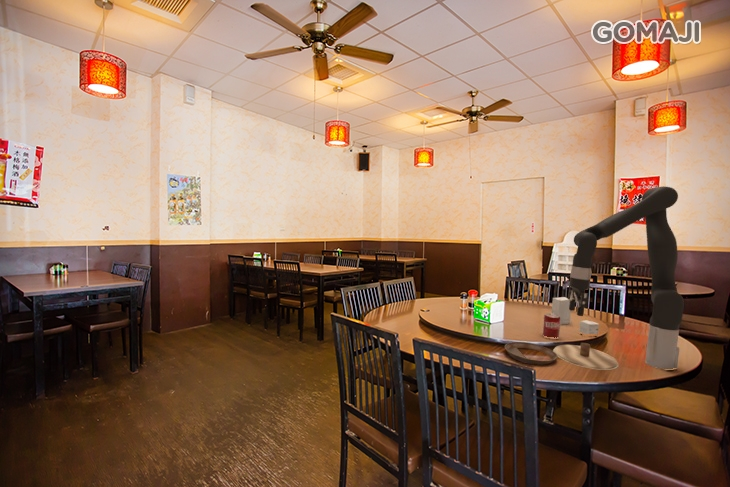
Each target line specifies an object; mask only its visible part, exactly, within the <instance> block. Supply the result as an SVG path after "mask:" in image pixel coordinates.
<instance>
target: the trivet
mask: <svg viewBox="0 0 730 487" xmlns="http://www.w3.org/2000/svg"><path fill="white" fill-rule="evenodd" d="M552 351H553V352H555V347H554V348H553V350H552ZM557 357H558V358H559V359H561V360H563V361H565V362H567V363H569V364H572V365H575V366H578V367H582V368H587V369H591V370H592V369H593V370H596V369H595V368H589V367H584V366H580V365H576V364H573V363H571V362H568V361H566V360H564V359H562V358H560V357H559V356H557ZM618 367H619V363H618V361H617V366H616V367H615V368H612V369H597V370H600V371H609V370H610V371H611V370H615V369H617V368H618Z"/></svg>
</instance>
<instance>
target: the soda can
mask: <svg viewBox="0 0 730 487" xmlns="http://www.w3.org/2000/svg"><path fill="white" fill-rule="evenodd" d="M560 319H561V318H560V316H559V315H556V314H552V312H551V313H549V312H547V313H545V314H544V315H543V325H542V326H543V327H542V336H543V335H544V336H547V337H554V338H555V337H556V338H557V337H559V338H560V329H561V325H560Z"/></svg>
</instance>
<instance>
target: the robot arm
mask: <svg viewBox="0 0 730 487" xmlns="http://www.w3.org/2000/svg"><path fill="white" fill-rule="evenodd" d="M678 199H679V194H678V191H677V190H676V189H675V188H673V187H670V186H658V187H657V186H656V187H654V188H653V187H652V188H649V189H647V190H645V192H643V194H642V197H641V201H639V202H638V203H635V204H634V205H632V206H629V207H628V208H625V209H623V210H621V211H618V212H616V213H614V214H612V215H610V216H608V217H606V218H604V219H602V220H601V221H599V222H598V223H597V224H595V225H593V226H590V227H587V228H585V229H583V230H581V231H579V232H578V233H576V234H575V235H574V237H573V243H574V245H576V246H577V249H576V253H575V254H574V255H573V259H572V266H571V270H570V275H569V276H570V277H569V284H568V286H569V288H568V294H567V298H568V299H569V302H570V304H569V310H571V311H573V312H574V311H575V310H577V311H576V315H577V316H579V317H583V316H584V311H585V308H588V307H589V306H588V305H589V296H590V294H589V293H586V291H587V290H590V284H591V278H592V277H591V276H592V264H593V257H594V255H595V252H596V249H597V245H598V241H599V240H601V239H606V238H609V237H611V236H613V235H615V234H616V233H618V232H620V231H622V230H623V229H625V228H627V227H629V226H630V225H632V224H634V223H635V222H638V221H640V220H641V219H645V220H644V221H645V229H646V230H645V232H646V246H647V256H648V262H649V267H650V268H649V270H650V272H651V273H650V274H651V292H650V300H651V303H652V306H653V307H652V313H651V317H650V318H649V325H648V326H649V328H648V335H647V344H646V352H645V364H647V365H648V366H650V367H653V368H655V367H657V368H656V369H658V368H663V369H673V368H677V369H678V365H679V364H678V363H679V358H680V357H679V355H680V347H679V346H678V340H679V334H680V332H679V331H680V327H681V326H680V325H681V324H682V321H683V314H684V307H685V301H684V298H683V296H682V294H680V293H679V292H678V289H677V286H676V276H675V274H676V269H677V265H678V256H679V255H678V254H679V253H678V244H677V239H676V236H675V234H674V232H673V230H672V229H671V227H670V225H669V224H670V223H669V222H668V216H667V209H669V208H671V207H673V206H674V205H675V204H676V203H677V201H678ZM576 304H577V309H576Z"/></svg>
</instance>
